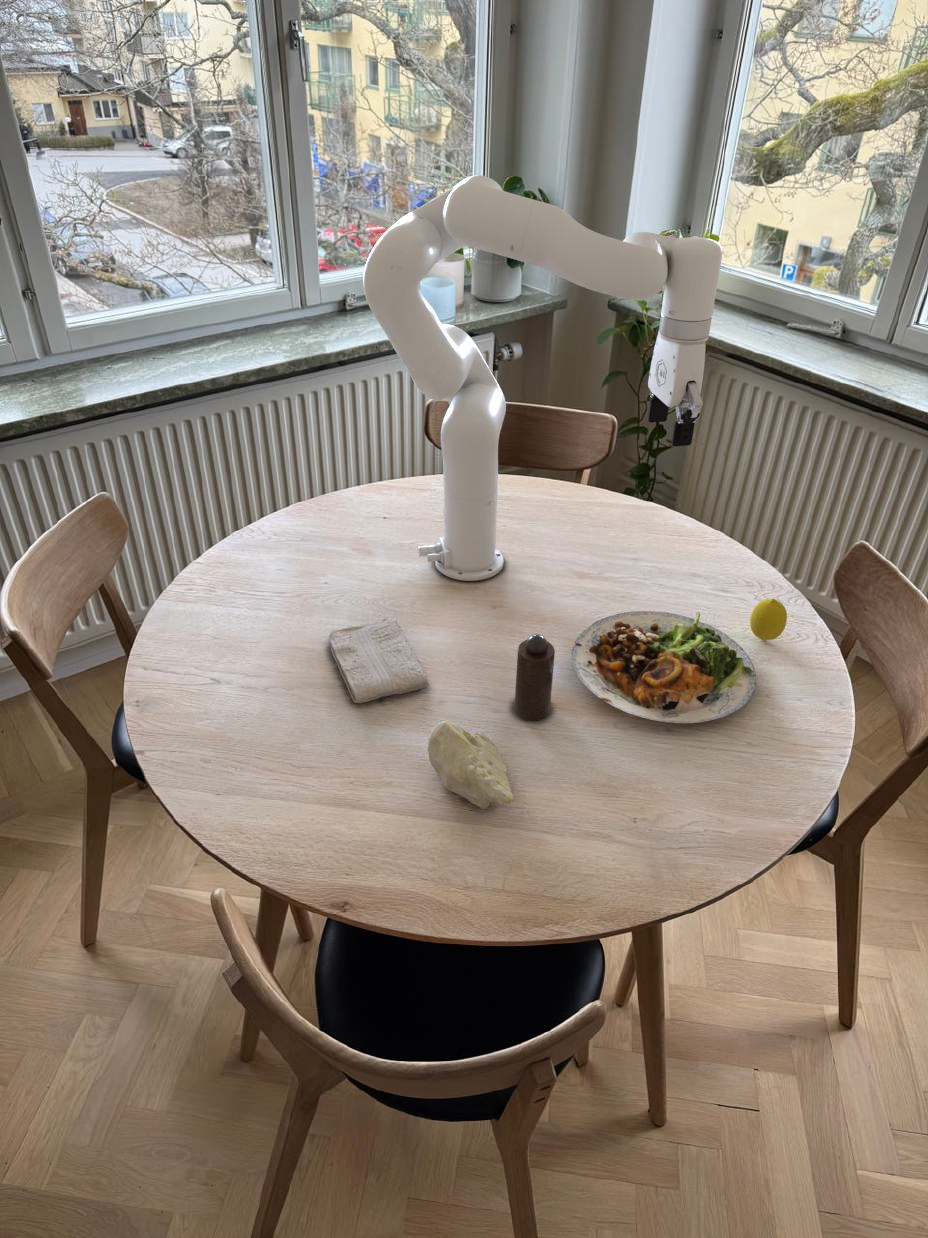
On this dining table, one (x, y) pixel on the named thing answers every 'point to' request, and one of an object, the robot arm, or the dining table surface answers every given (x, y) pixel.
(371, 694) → the washcloth
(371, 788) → the dining table surface
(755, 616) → the lemon
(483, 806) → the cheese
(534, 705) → the pepper mill
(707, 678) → the plate of food
